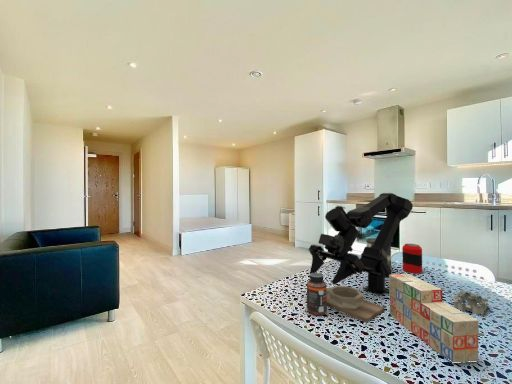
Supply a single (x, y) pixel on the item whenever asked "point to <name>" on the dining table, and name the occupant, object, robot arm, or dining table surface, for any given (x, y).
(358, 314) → the collar board
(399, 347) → the dining table surface
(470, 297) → the egg carton
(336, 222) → the robot arm
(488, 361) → the dining table surface
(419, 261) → the soda can
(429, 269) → the dining table surface
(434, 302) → the stack of blocks
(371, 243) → the coffee can
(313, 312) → the supplement bottle
